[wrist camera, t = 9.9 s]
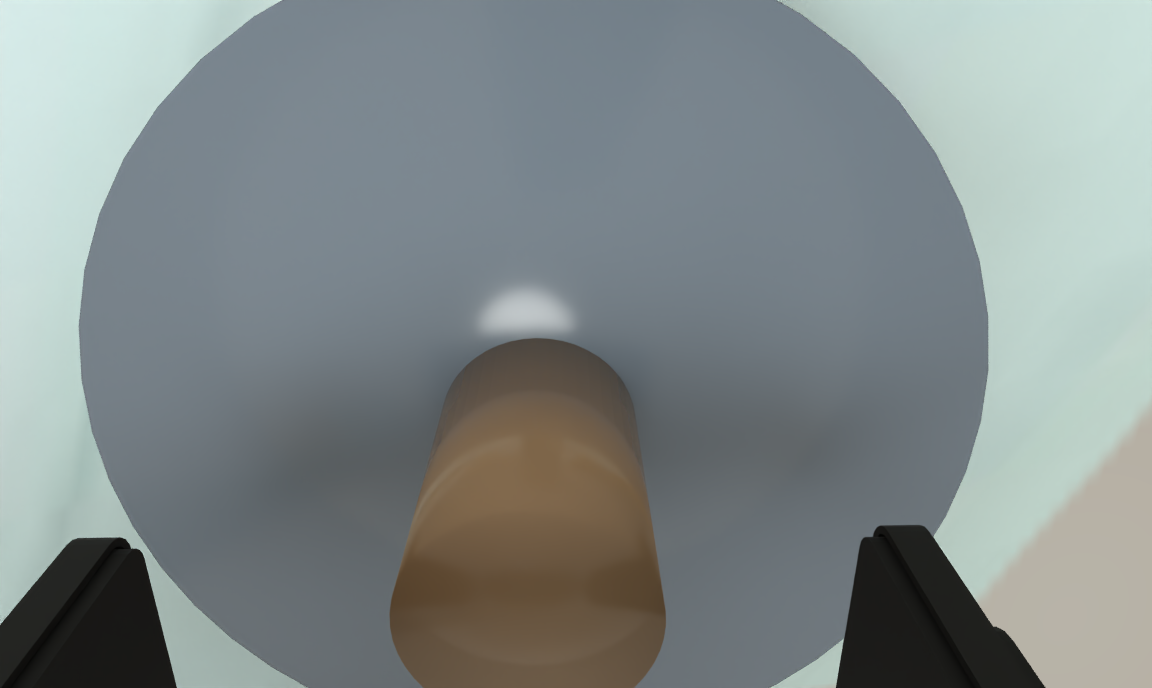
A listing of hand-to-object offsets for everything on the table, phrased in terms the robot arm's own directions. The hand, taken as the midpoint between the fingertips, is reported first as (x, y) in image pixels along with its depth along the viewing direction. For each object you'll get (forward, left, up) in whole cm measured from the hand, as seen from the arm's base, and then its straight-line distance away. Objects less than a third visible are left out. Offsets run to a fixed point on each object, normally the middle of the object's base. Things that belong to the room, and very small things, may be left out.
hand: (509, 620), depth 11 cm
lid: (0, 0, -6) cm, 6 cm away
